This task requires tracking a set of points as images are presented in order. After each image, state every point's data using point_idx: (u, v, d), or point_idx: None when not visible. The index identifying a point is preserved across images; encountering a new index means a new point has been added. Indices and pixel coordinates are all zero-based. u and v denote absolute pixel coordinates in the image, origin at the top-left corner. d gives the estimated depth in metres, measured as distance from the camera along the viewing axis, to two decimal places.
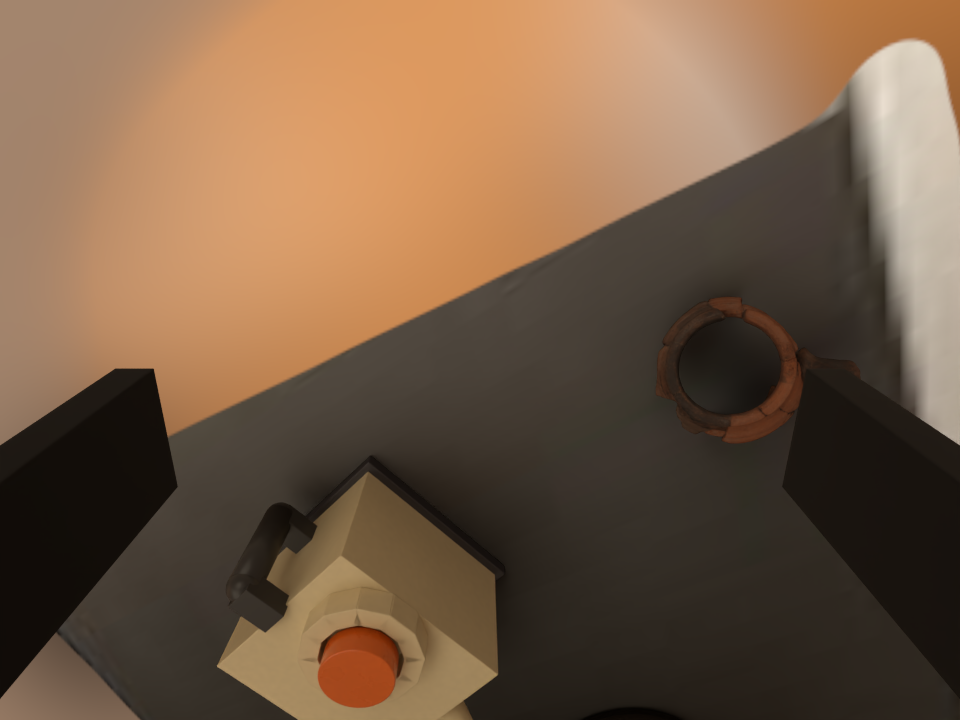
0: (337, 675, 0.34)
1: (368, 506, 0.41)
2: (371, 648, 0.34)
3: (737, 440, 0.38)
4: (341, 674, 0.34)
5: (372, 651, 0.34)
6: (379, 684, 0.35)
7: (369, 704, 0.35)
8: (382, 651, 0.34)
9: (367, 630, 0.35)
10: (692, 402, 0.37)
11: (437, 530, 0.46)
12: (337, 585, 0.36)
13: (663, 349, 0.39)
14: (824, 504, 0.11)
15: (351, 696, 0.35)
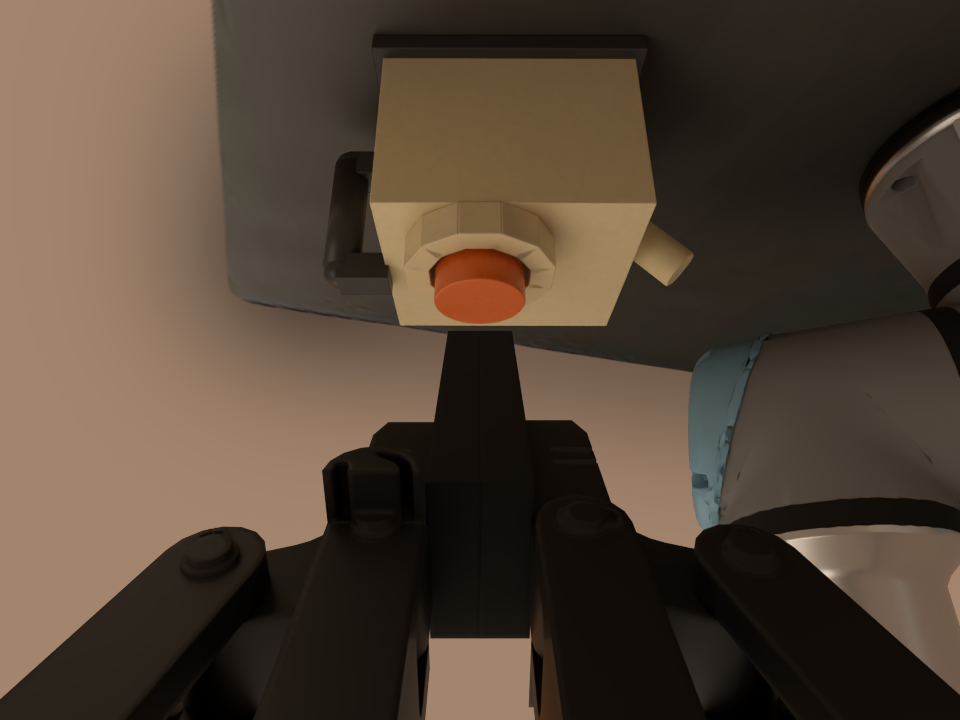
0: (459, 308, 0.30)
1: (394, 108, 0.30)
2: (463, 274, 0.28)
3: None
4: (462, 306, 0.30)
5: (465, 277, 0.28)
6: (503, 296, 0.29)
7: (515, 312, 0.30)
8: (478, 270, 0.28)
9: (455, 254, 0.28)
10: None
11: (517, 62, 0.31)
12: (401, 226, 0.29)
13: None
14: None
15: (492, 314, 0.31)
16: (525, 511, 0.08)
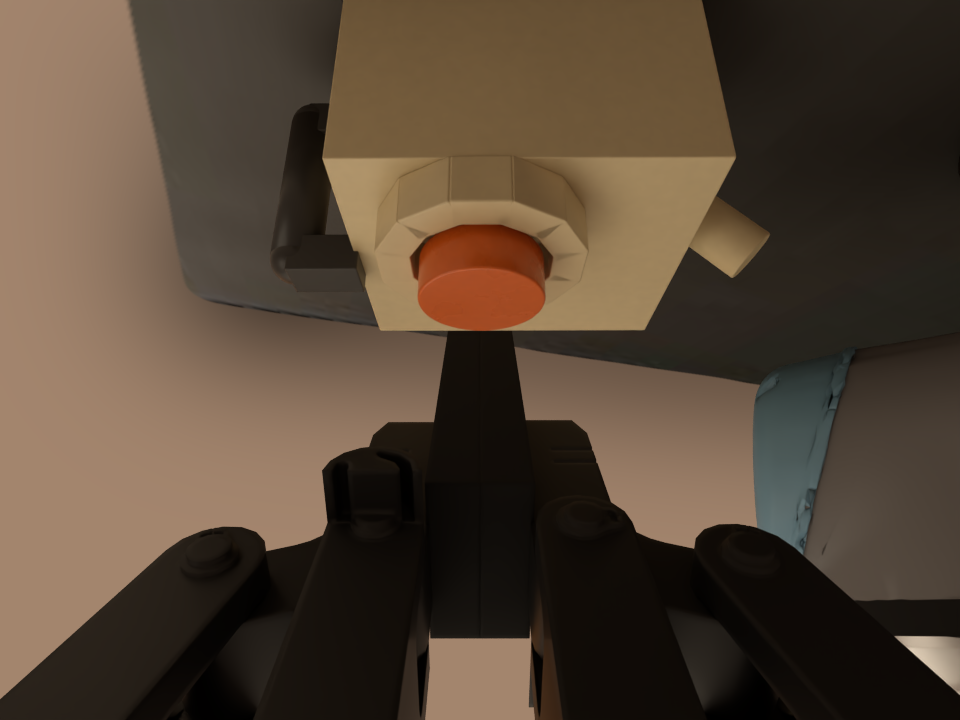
0: (454, 309, 0.22)
1: (362, 31, 0.22)
2: (457, 261, 0.19)
3: None
4: (457, 306, 0.21)
5: (460, 265, 0.19)
6: (515, 292, 0.20)
7: (531, 314, 0.22)
8: (478, 255, 0.19)
9: (446, 233, 0.20)
10: None
11: None
12: (371, 195, 0.21)
13: None
14: None
15: (498, 318, 0.22)
16: (525, 511, 0.08)
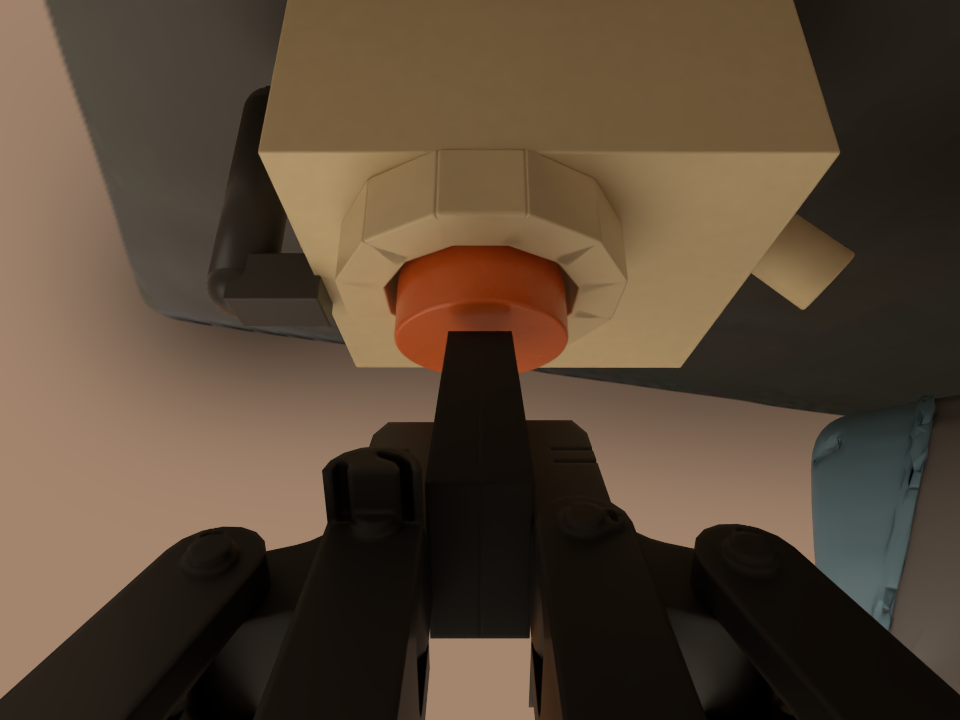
0: (444, 353, 0.16)
1: None
2: (448, 292, 0.14)
3: None
4: None
5: (452, 297, 0.14)
6: (527, 332, 0.15)
7: (547, 358, 0.16)
8: (477, 283, 0.14)
9: (433, 252, 0.14)
10: None
11: None
12: (331, 204, 0.15)
13: None
14: None
15: None
16: (525, 511, 0.08)
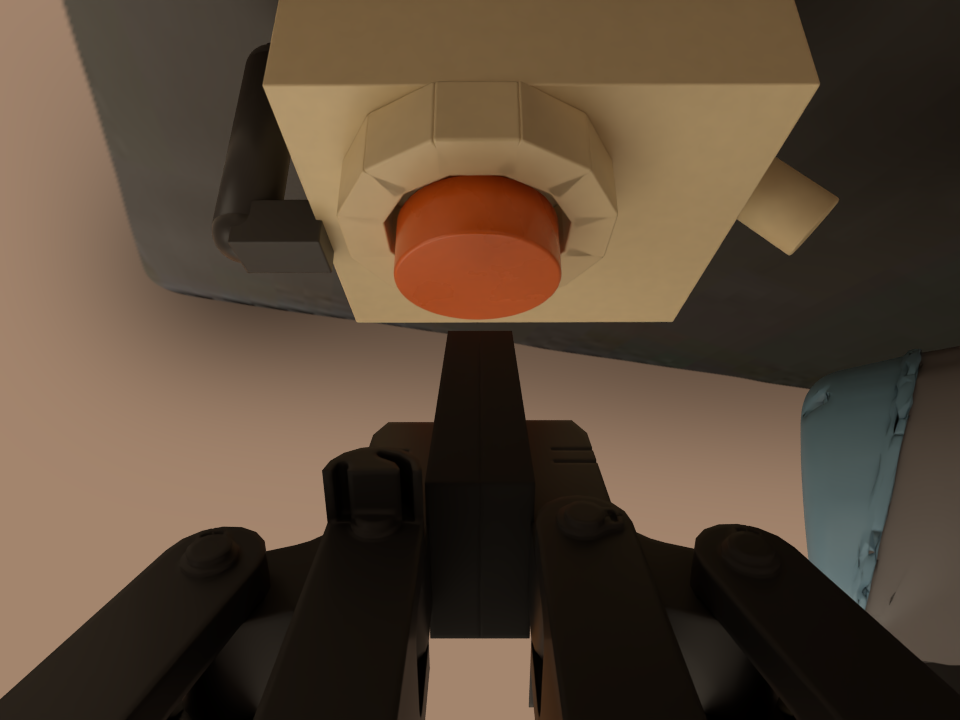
0: (441, 291, 0.17)
1: None
2: (445, 224, 0.14)
3: None
4: (445, 287, 0.16)
5: (449, 229, 0.14)
6: (522, 268, 0.16)
7: (541, 298, 0.17)
8: (473, 215, 0.14)
9: (431, 188, 0.15)
10: None
11: None
12: (332, 141, 0.16)
13: None
14: None
15: (499, 303, 0.17)
16: (525, 511, 0.08)
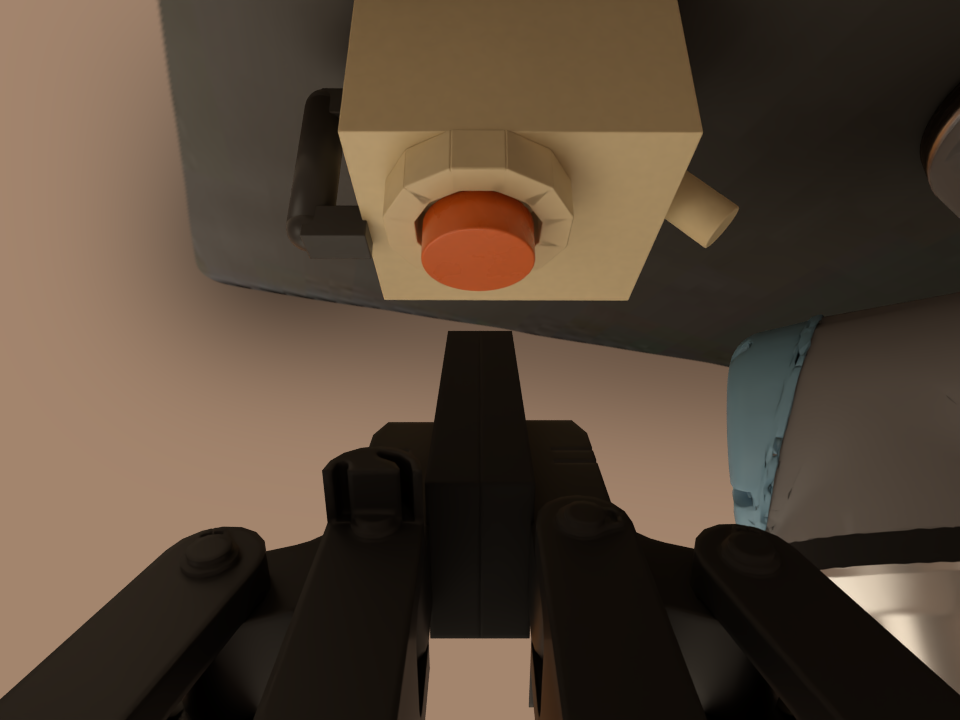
0: (453, 269, 0.24)
1: (372, 20, 0.24)
2: (457, 223, 0.22)
3: None
4: (456, 266, 0.24)
5: (460, 226, 0.22)
6: (508, 253, 0.23)
7: (522, 274, 0.24)
8: (475, 217, 0.22)
9: (447, 199, 0.23)
10: None
11: None
12: (380, 166, 0.23)
13: None
14: None
15: (493, 278, 0.25)
16: (525, 511, 0.08)
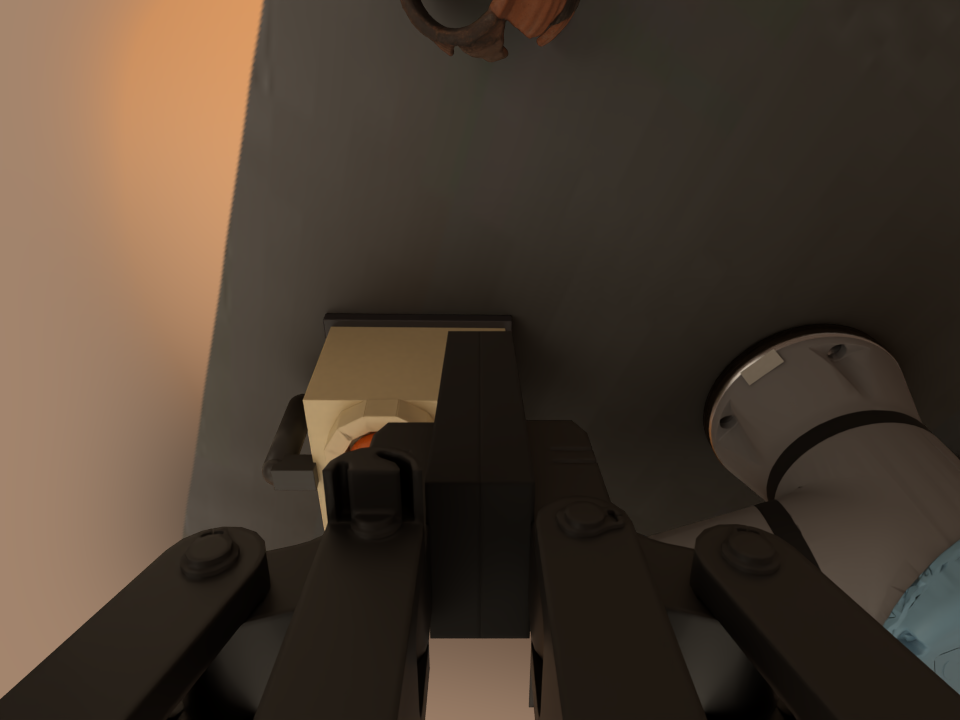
0: None
1: (333, 351, 0.43)
2: None
3: (537, 23, 0.31)
4: None
5: None
6: None
7: None
8: None
9: (363, 438, 0.37)
10: (454, 30, 0.31)
11: (423, 329, 0.46)
12: (326, 422, 0.39)
13: None
14: None
15: None
16: (525, 511, 0.08)
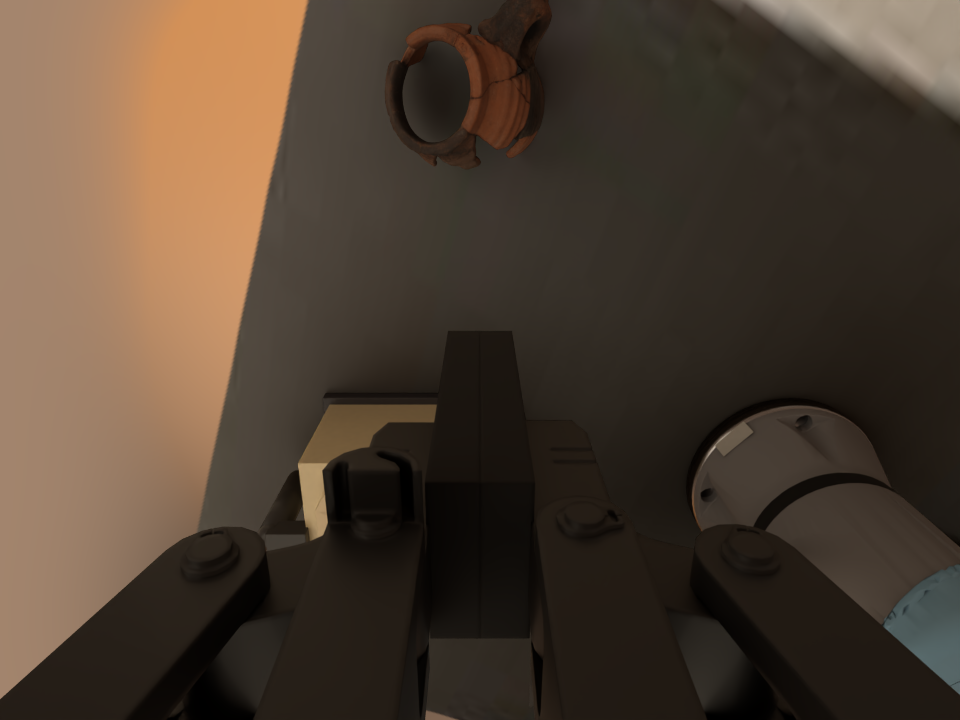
0: None
1: (329, 424, 0.46)
2: None
3: (502, 137, 0.38)
4: None
5: None
6: None
7: None
8: None
9: None
10: (434, 143, 0.38)
11: (414, 406, 0.49)
12: (319, 486, 0.42)
13: None
14: None
15: None
16: (525, 511, 0.08)
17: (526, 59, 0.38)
